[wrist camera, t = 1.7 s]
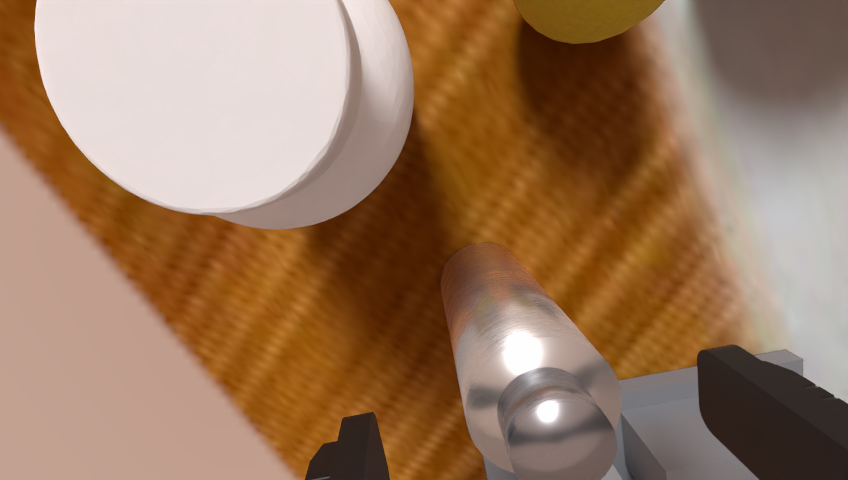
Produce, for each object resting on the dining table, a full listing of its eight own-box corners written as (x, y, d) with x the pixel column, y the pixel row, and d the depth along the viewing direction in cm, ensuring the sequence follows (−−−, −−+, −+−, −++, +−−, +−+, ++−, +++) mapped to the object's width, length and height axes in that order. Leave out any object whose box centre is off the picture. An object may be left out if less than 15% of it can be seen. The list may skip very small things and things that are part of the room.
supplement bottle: (238, 155, 19) (-78, 190, 7) (282, 0, 18) (-13, -310, 5) (382, 208, 20) (335, 327, 8) (435, 63, 19) (483, -85, 6)
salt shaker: (517, 235, 20) (645, 352, 9) (529, 313, 21) (658, 507, 10) (433, 251, 21) (459, 387, 9) (448, 329, 21) (488, 538, 10)
